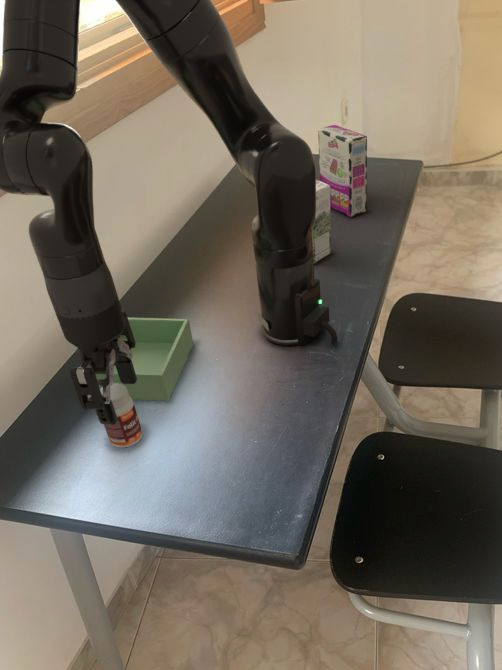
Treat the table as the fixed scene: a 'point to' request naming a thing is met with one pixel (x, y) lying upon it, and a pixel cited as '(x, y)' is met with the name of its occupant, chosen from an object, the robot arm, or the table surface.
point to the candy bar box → (344, 168)
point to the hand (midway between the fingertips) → (120, 401)
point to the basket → (156, 356)
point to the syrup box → (322, 223)
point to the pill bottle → (123, 418)
